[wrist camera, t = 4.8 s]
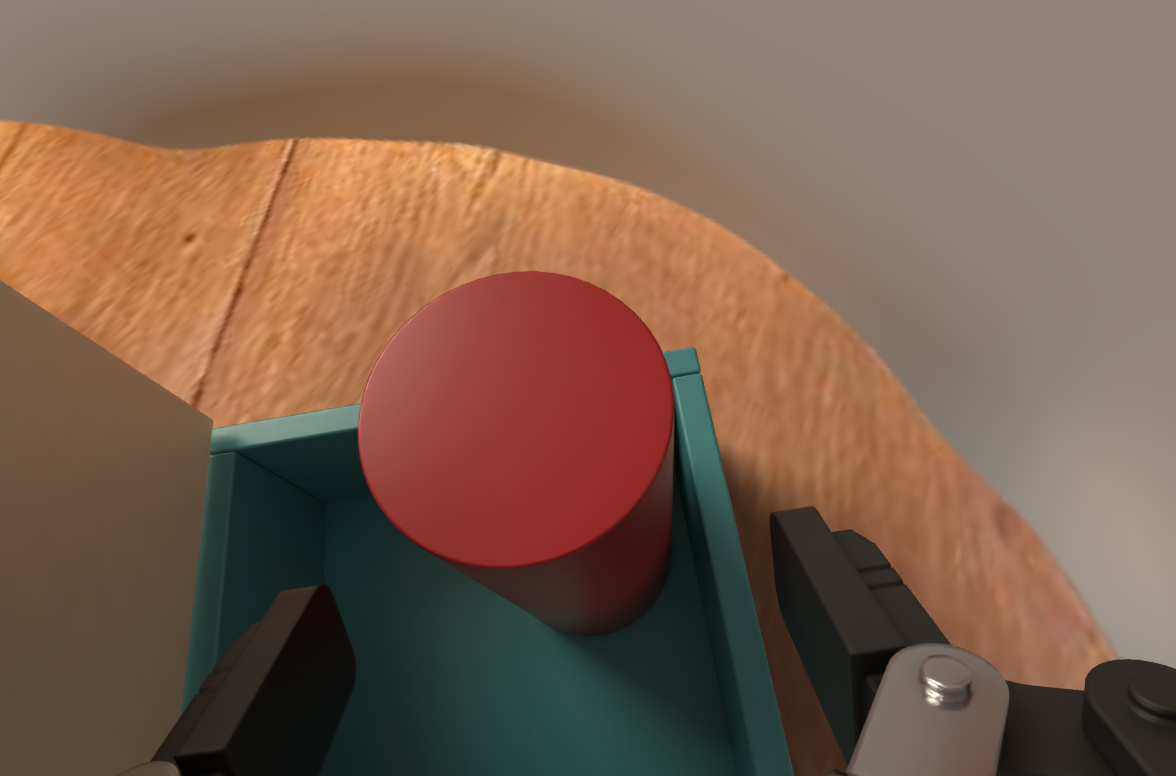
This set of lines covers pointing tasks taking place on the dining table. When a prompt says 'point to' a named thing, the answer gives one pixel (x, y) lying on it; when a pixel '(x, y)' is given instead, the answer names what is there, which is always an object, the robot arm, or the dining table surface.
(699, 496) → the teal open box
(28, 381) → the lid
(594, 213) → the dining table surface
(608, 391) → the plain red cylinder
